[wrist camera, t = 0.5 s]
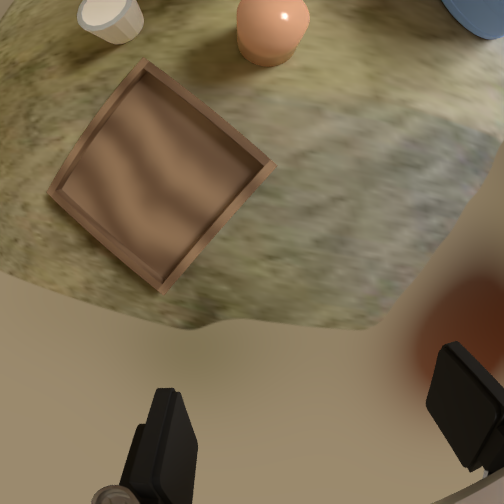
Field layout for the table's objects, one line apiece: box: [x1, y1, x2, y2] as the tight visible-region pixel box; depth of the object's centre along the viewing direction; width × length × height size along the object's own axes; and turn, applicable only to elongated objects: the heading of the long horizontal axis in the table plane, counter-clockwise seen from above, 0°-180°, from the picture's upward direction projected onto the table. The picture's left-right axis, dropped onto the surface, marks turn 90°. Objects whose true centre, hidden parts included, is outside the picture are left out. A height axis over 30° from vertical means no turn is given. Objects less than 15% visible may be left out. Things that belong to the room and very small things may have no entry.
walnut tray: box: [47, 57, 277, 295], centre depth 34 cm, size 20×20×2 cm
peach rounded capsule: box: [237, 0, 310, 67], centre depth 28 cm, size 7×7×8 cm
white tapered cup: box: [77, 0, 144, 44], centre depth 26 cm, size 7×7×7 cm
